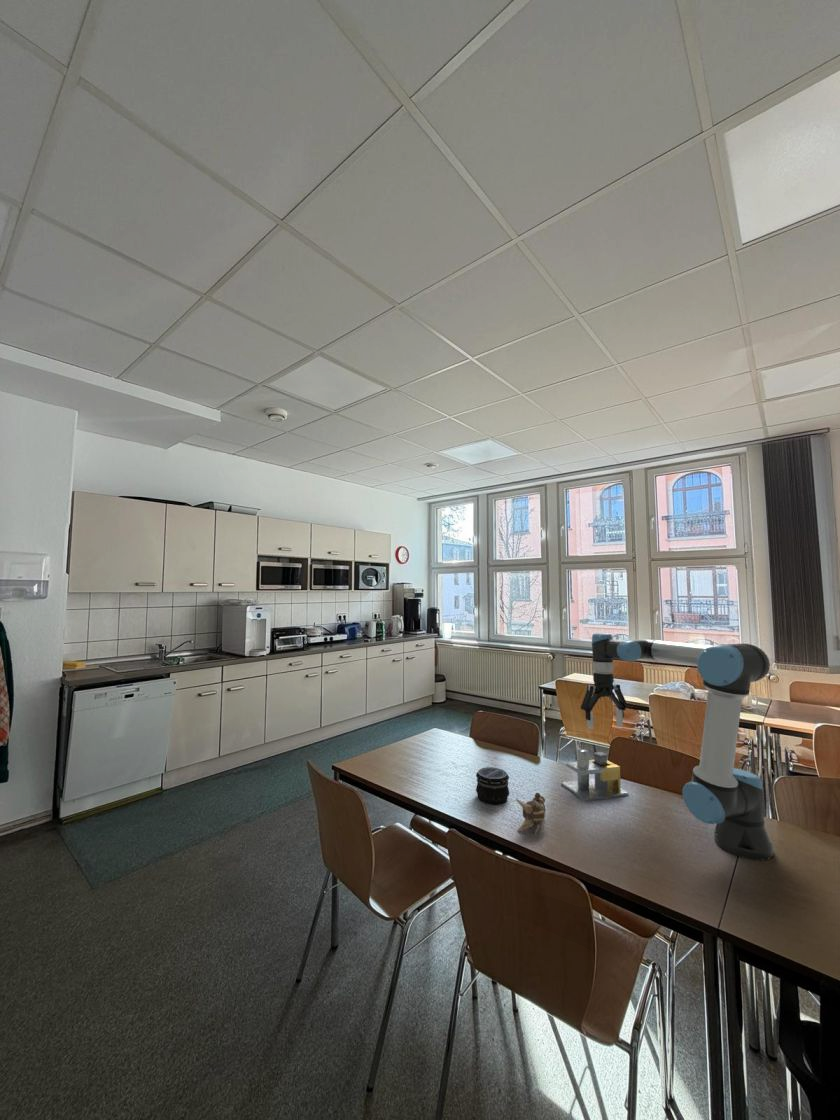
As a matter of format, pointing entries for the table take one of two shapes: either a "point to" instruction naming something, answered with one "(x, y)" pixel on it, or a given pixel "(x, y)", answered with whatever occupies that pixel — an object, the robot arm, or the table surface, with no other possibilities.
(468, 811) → the table surface
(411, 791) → the table surface
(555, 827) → the table surface
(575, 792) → the grey frame
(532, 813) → the toy
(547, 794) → the table surface
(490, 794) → the container
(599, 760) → the pin
